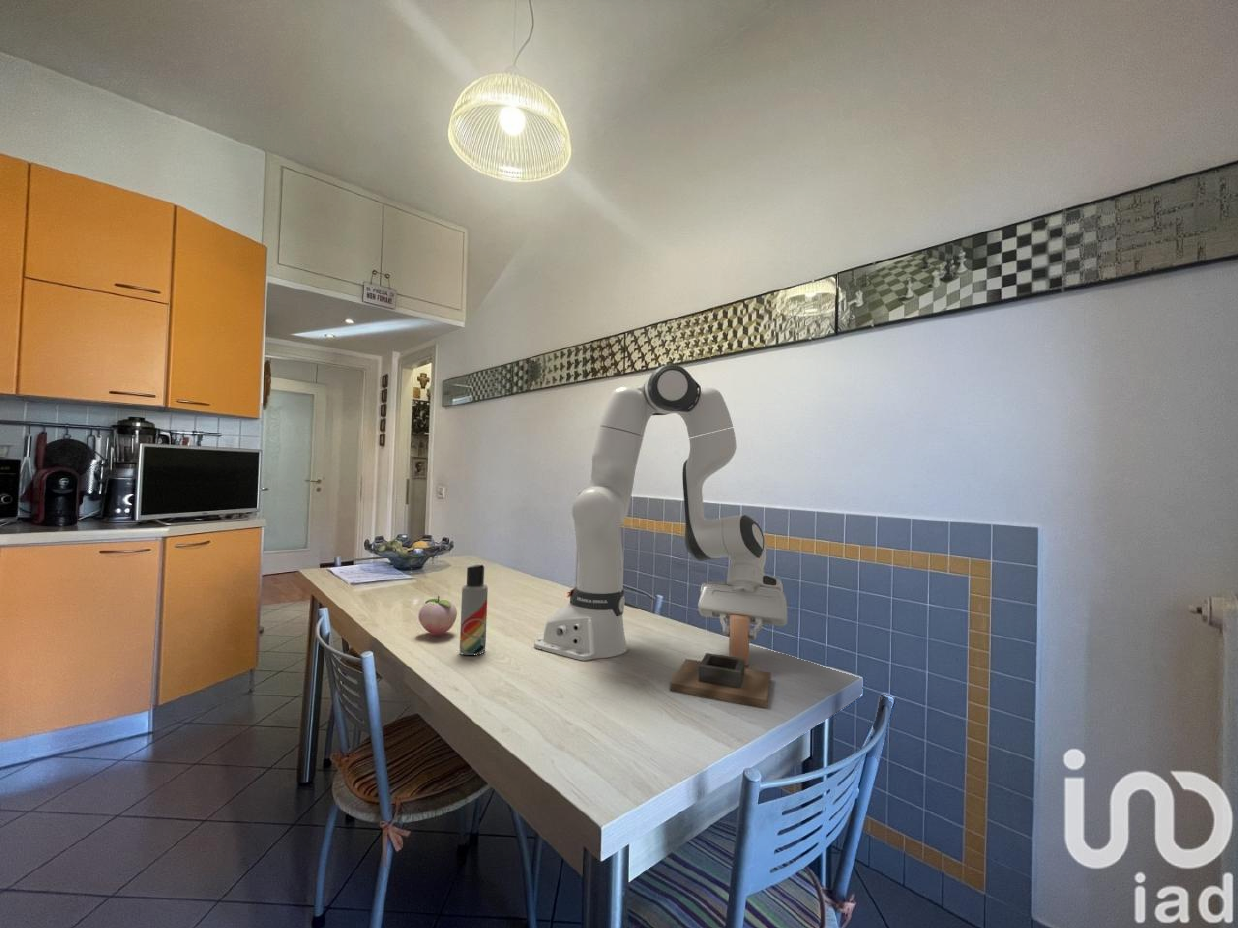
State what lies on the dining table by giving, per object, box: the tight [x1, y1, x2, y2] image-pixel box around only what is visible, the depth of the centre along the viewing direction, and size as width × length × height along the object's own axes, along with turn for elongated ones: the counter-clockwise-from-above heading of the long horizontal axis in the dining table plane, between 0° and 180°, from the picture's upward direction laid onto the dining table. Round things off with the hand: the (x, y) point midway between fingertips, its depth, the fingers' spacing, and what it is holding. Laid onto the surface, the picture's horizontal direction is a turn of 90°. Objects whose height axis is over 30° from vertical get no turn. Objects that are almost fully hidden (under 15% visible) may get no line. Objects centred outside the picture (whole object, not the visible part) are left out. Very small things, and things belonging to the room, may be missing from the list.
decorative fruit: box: [417, 595, 458, 636], centre depth 123 cm, size 9×8×10 cm
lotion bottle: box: [459, 564, 489, 656], centre depth 113 cm, size 6×6×20 cm
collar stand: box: [669, 652, 772, 709], centre depth 98 cm, size 18×14×4 cm
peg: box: [728, 615, 751, 666], centre depth 110 cm, size 4×4×10 cm
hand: (739, 636), depth 110 cm, fingers closed on peg, 4 cm apart
